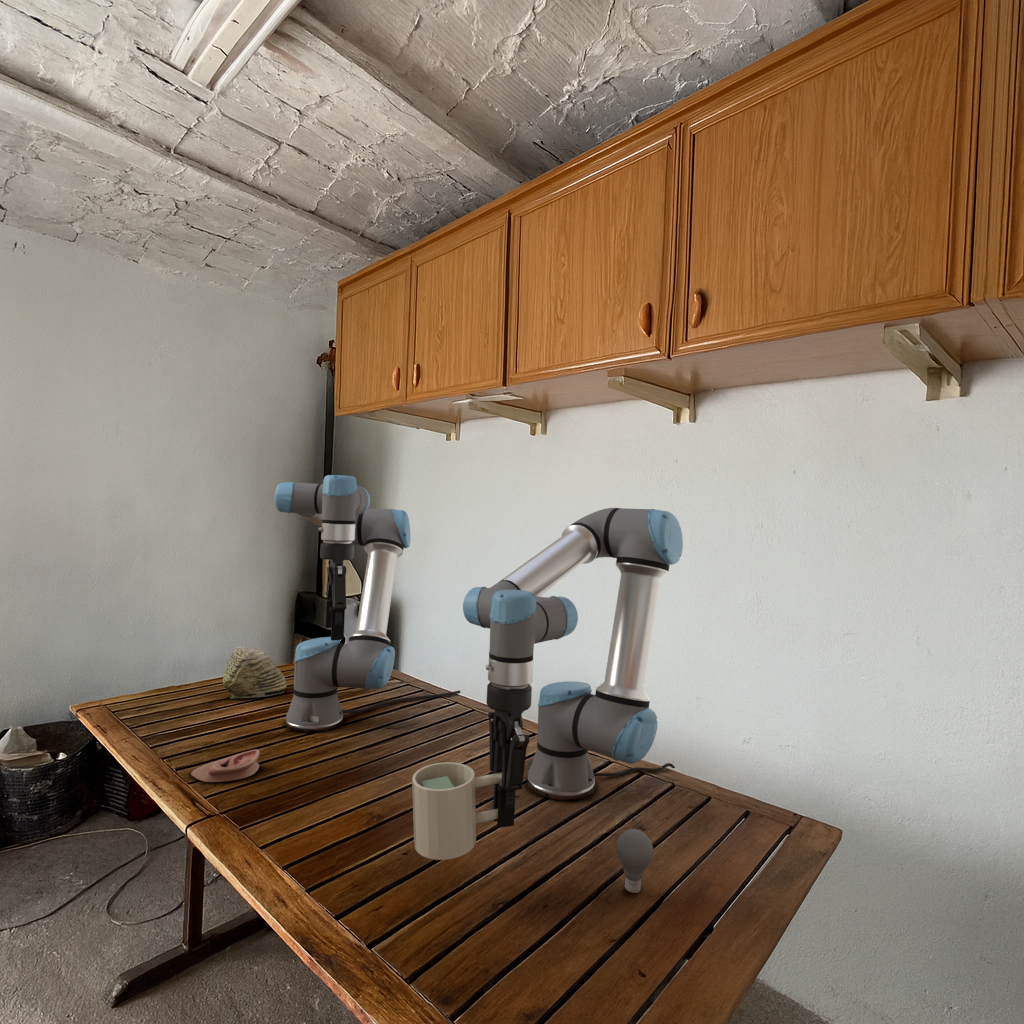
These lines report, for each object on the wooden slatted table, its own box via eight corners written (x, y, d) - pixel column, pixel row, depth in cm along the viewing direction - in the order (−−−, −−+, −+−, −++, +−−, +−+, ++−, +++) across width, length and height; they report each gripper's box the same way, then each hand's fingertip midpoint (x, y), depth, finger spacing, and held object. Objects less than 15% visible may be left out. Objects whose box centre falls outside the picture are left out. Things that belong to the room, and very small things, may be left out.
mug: (422, 866, 97) (420, 795, 96) (408, 833, 106) (406, 768, 105) (521, 842, 102) (519, 775, 102) (500, 812, 112) (498, 751, 111)
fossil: (218, 695, 195) (220, 647, 195) (278, 685, 208) (279, 640, 207) (228, 703, 189) (230, 653, 188) (289, 692, 201) (290, 645, 201)
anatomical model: (182, 760, 139) (216, 741, 150) (181, 778, 139) (216, 758, 150) (236, 768, 136) (267, 748, 147) (235, 786, 136) (266, 765, 147)
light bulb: (610, 879, 108) (613, 822, 108) (644, 879, 109) (647, 822, 109) (619, 902, 102) (622, 840, 102) (655, 901, 103) (658, 840, 103)
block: (422, 834, 104) (420, 780, 103) (449, 828, 105) (447, 775, 105) (429, 849, 100) (427, 793, 99) (456, 842, 101) (454, 787, 101)
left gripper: (316, 537, 157) (313, 623, 157) (325, 546, 133) (321, 646, 134) (347, 538, 159) (344, 622, 160) (361, 546, 136) (358, 645, 136)
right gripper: (474, 672, 112) (468, 805, 112) (504, 698, 98) (497, 848, 98) (514, 670, 114) (508, 799, 115) (548, 694, 101) (541, 841, 101)
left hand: (334, 633), depth 147 cm, fingers open, 13 cm apart
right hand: (503, 822), depth 107 cm, fingers closed on mug, 2 cm apart
